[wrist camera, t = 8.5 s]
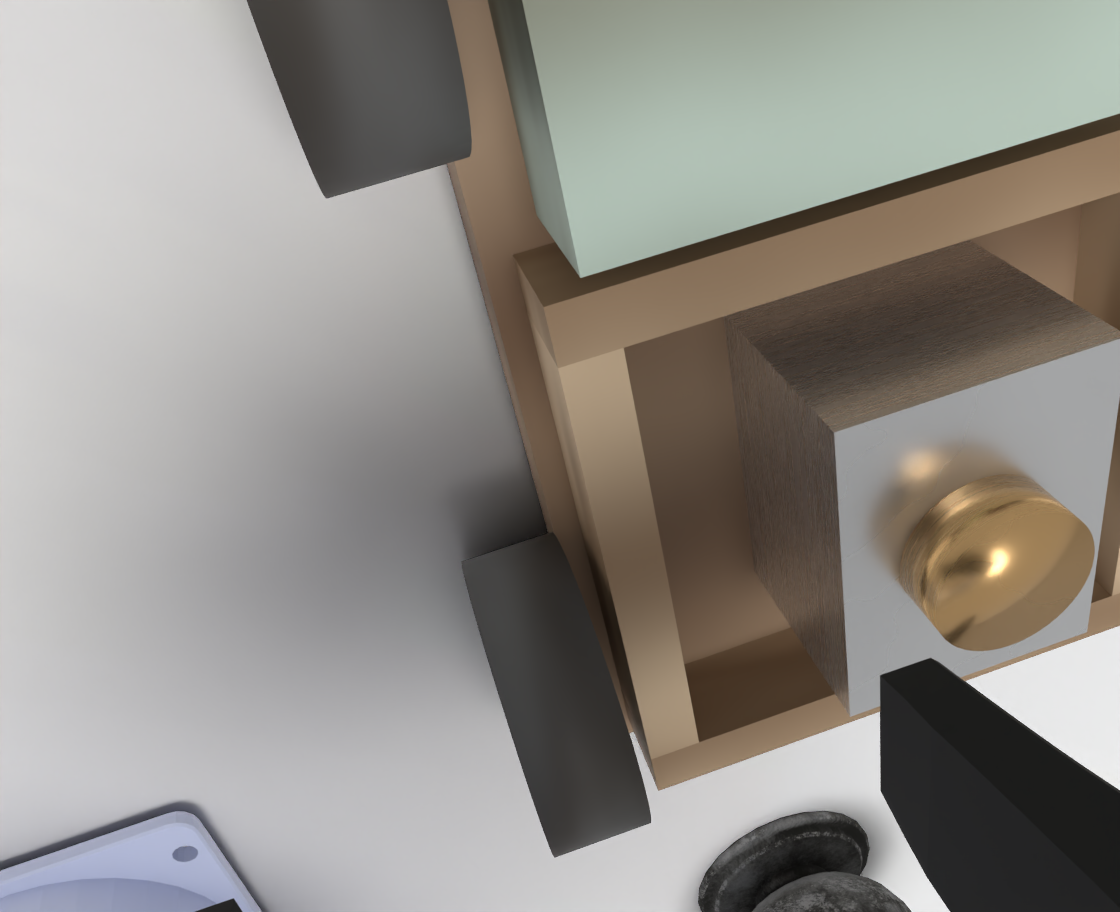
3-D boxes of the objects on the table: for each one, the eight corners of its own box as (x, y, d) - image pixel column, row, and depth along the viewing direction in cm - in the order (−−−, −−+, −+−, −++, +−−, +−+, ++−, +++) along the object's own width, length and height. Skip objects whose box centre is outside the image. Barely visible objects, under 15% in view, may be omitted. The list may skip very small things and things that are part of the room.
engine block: (957, 503, 21) (1127, 671, 17) (754, 572, 21) (880, 761, 17) (965, 237, 18) (1181, 368, 14) (723, 313, 17) (870, 471, 13)
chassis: (1127, 505, 25) (1326, 664, 20) (517, 716, 23) (582, 939, 19) (1310, -670, 13) (1866, -919, 9) (132, -400, 12) (57, -528, 7)
